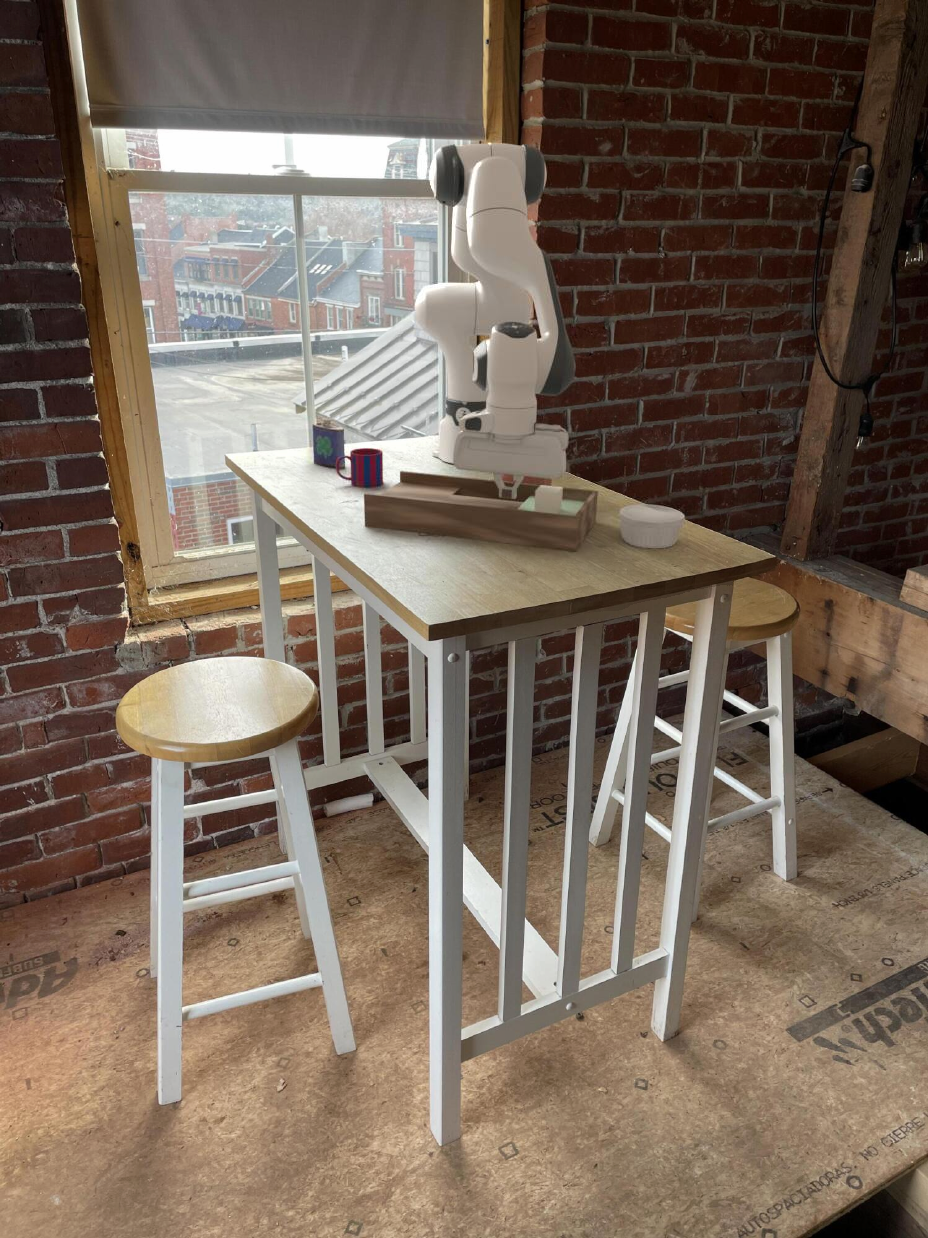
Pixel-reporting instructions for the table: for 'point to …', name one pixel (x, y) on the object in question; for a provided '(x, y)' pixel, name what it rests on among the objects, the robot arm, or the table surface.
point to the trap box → (480, 511)
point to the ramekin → (650, 525)
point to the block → (548, 499)
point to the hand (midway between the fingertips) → (507, 497)
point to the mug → (364, 467)
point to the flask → (328, 444)
